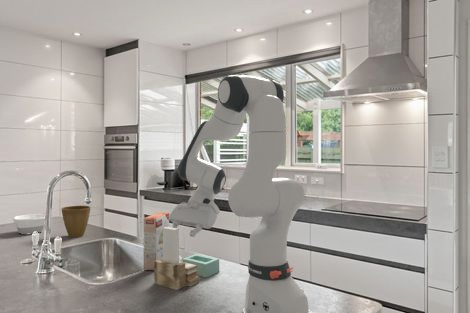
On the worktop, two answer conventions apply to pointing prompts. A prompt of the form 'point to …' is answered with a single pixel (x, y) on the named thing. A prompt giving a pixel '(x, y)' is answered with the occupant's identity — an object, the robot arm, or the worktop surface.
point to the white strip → (171, 245)
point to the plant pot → (76, 219)
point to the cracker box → (154, 238)
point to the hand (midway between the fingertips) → (182, 234)
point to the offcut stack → (190, 274)
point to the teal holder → (203, 264)
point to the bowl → (30, 223)
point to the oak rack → (169, 274)
